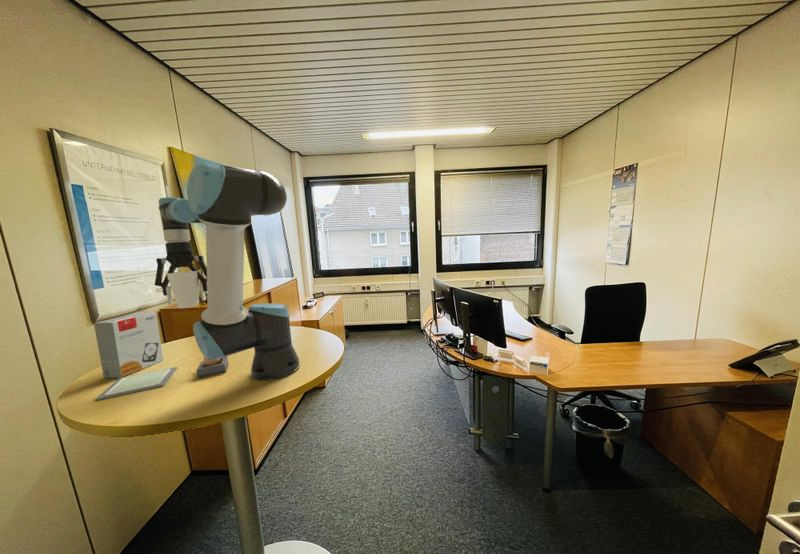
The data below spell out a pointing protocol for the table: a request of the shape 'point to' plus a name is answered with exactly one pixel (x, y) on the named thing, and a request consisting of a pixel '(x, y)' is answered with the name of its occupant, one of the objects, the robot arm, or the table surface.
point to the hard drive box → (128, 344)
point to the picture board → (138, 383)
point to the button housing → (212, 368)
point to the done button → (211, 362)
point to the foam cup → (185, 288)
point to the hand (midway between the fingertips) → (187, 302)
